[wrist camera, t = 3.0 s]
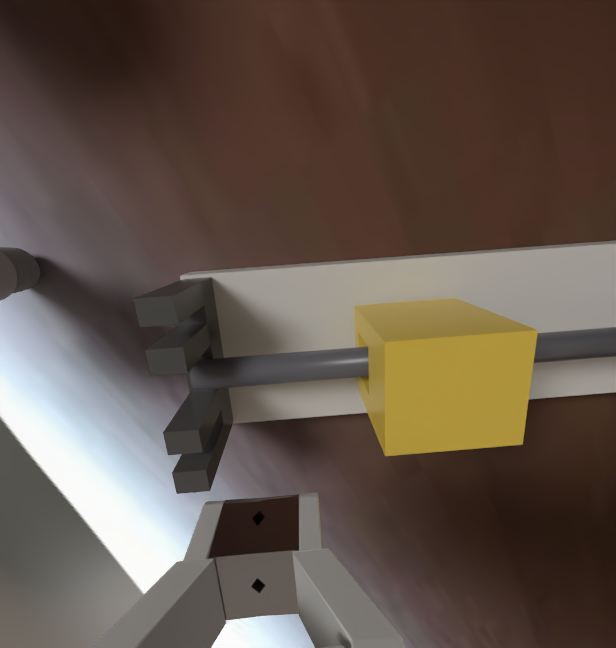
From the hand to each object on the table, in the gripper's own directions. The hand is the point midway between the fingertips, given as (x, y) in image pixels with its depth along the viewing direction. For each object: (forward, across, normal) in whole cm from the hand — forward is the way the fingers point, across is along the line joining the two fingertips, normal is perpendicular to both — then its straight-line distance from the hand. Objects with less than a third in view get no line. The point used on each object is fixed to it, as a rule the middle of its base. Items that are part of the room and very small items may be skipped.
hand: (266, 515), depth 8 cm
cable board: (+14, -12, -1) cm, 18 cm away
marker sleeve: (+11, -7, -1) cm, 13 cm away
